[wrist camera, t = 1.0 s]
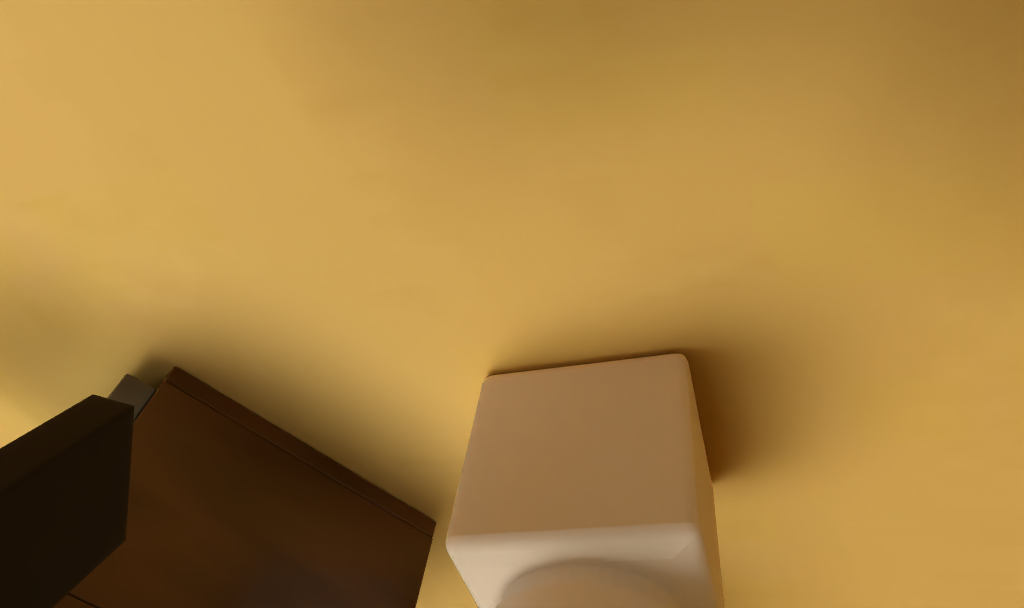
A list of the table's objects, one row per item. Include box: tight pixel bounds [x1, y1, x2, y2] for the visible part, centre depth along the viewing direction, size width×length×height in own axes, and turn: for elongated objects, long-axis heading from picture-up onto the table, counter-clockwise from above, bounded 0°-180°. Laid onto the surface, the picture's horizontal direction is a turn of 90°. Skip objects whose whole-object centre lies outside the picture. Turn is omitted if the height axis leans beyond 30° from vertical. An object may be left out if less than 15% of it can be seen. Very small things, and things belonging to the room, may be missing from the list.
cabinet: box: [53, 367, 436, 608], centre depth 29 cm, size 13×11×10 cm
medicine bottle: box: [446, 353, 724, 608], centre depth 22 cm, size 7×7×12 cm
